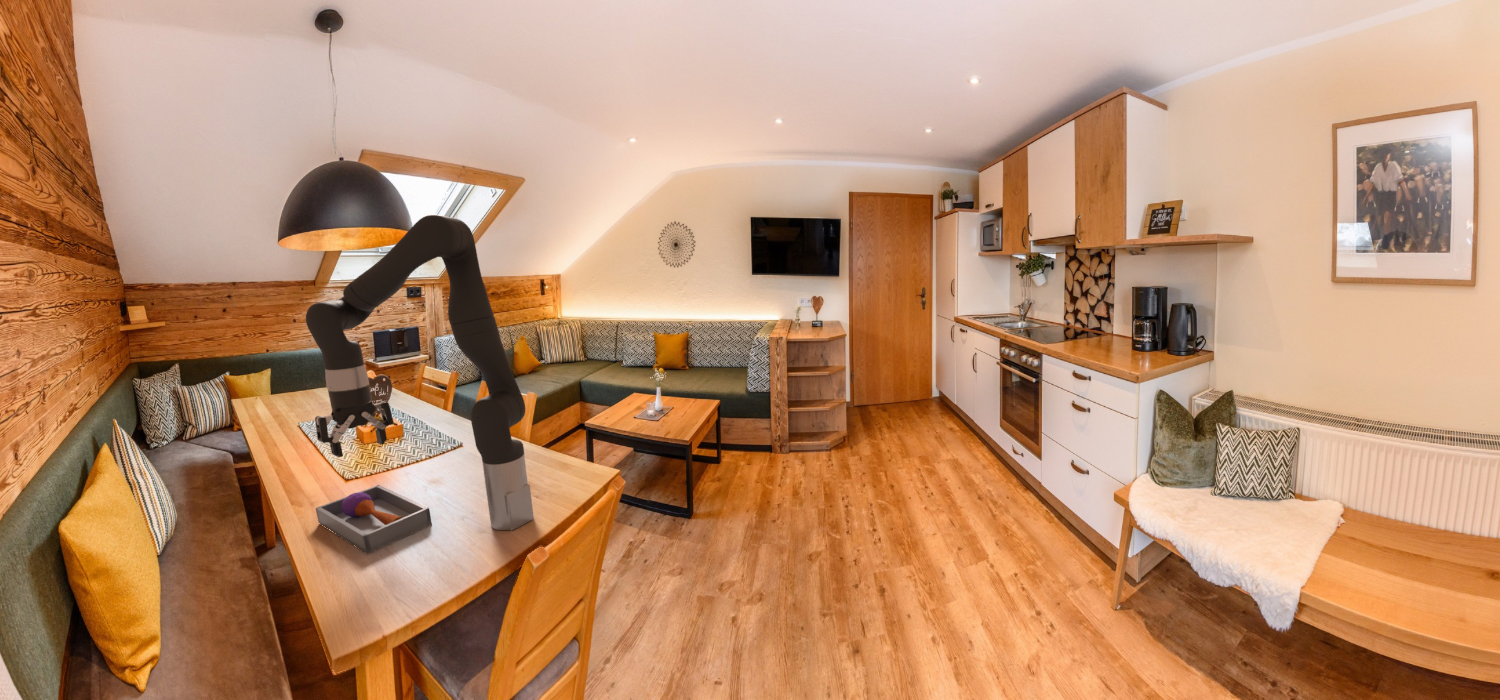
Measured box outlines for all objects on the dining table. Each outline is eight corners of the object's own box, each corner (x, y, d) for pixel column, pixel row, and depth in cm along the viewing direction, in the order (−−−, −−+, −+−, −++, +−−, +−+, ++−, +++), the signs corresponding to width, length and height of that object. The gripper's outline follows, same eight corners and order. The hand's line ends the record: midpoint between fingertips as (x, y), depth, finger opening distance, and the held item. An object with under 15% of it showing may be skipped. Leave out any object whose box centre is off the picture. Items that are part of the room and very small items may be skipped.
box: (431, 524, 118) (429, 508, 117) (367, 554, 106) (363, 536, 105) (381, 499, 130) (378, 484, 129) (319, 524, 119) (315, 508, 118)
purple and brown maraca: (380, 522, 110) (332, 499, 118) (388, 542, 112) (341, 518, 120) (406, 506, 115) (359, 485, 123) (414, 525, 117) (367, 503, 125)
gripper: (317, 395, 103) (331, 464, 106) (391, 380, 115) (402, 442, 119) (302, 391, 107) (317, 457, 110) (376, 376, 119) (387, 437, 122)
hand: (361, 449), depth 114 cm, fingers open, 8 cm apart
